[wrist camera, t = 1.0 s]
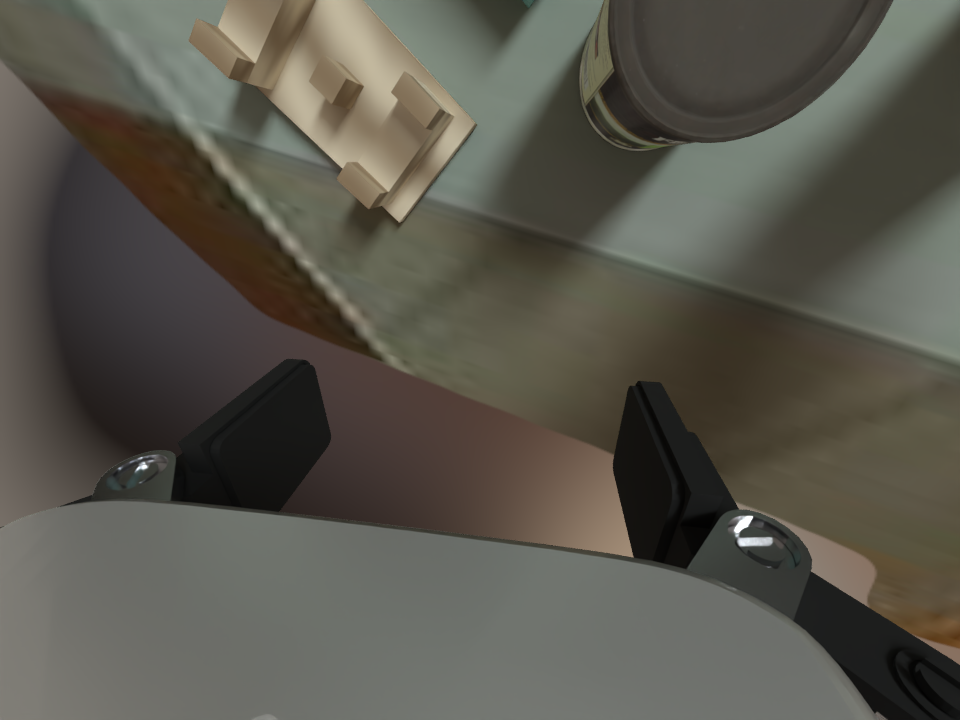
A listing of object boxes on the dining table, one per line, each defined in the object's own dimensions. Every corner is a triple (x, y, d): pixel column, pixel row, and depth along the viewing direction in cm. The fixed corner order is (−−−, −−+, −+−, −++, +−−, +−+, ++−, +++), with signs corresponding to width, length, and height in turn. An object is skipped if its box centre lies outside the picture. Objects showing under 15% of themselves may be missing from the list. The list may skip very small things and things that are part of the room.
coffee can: (743, 112, 27) (915, 70, 15) (599, 173, 30) (640, 181, 18) (724, -72, 23) (938, -343, 11) (560, 21, 26) (578, -107, 14)
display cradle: (285, -85, 25) (221, -147, 20) (477, 124, 30) (464, 116, 24) (228, 54, 30) (164, 32, 25) (403, 221, 34) (378, 231, 29)
